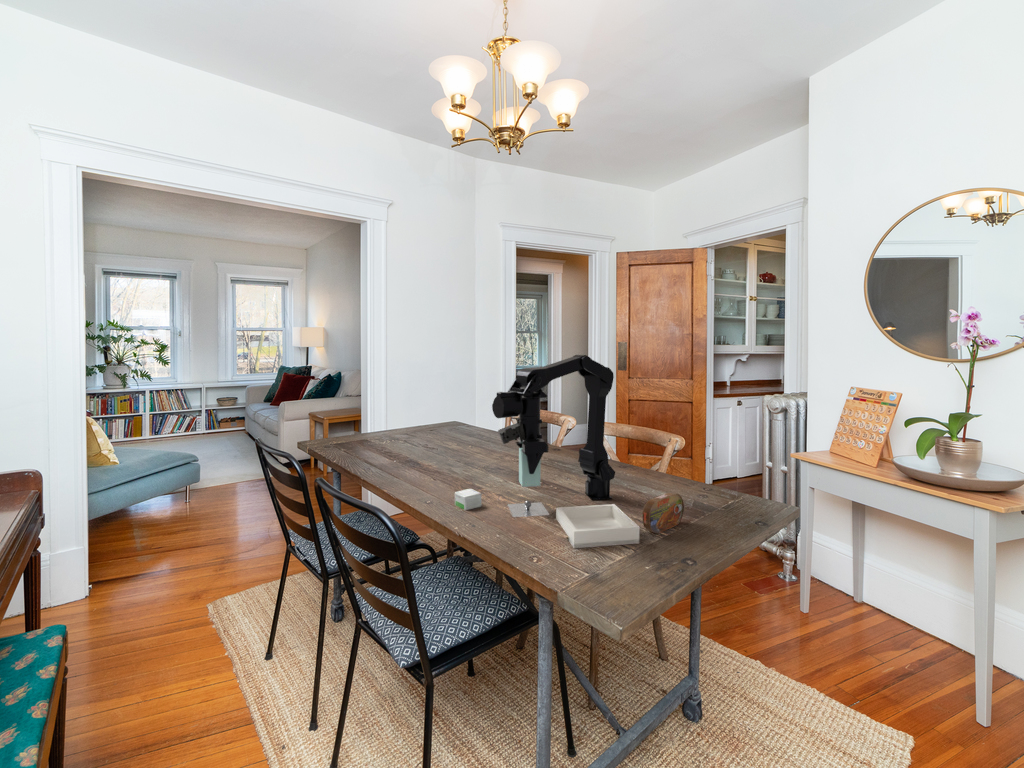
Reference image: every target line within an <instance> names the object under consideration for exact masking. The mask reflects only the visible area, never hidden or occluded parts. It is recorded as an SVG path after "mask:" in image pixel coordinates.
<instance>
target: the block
mask: <svg viewBox="0 0 1024 768" xmlns="http://www.w3.org/2000/svg"><path fill="white" fill-rule="evenodd" d="M521 449H523V448H520V447H518V482H519V484H520V485H521V487H522V488H527V487H528V488H529V487H541V468H542V467H541V459H542V458H541V459H540V461H539V463H538V465H537V468H536V470H535V472H534V474H530V473H529V468H528V462H527V456H526V455H525V454H524V453H523V452H522V450H521Z"/></svg>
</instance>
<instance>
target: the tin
mask: <svg viewBox="0 0 1024 768" xmlns="http://www.w3.org/2000/svg"><path fill="white" fill-rule="evenodd" d="M684 511H685V504H684V500H683V498H682V496H681V495H680V494H678V493H674V492H673V493H672V492H666V493H663V494H661V495H658V496H656V497H653V498H650V499H648V501H646V503H645V504H644V506H643V508H642V525H643V527H644V528H645V529H646V530H647V531H648V532H651V533H654V534H662V533H664V532H666V531H668V530H670V529H673V528H675V527H676V526H678V525H679V524H680V522H681V521H682V519H683V516H684Z"/></svg>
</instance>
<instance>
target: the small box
mask: <svg viewBox="0 0 1024 768" xmlns="http://www.w3.org/2000/svg"><path fill="white" fill-rule="evenodd" d="M454 505H455V507H458V508H460V509H462V510H464V511H467V510H472V509H477V508H480V507H482V493H481V492H479V491H476V490H474V489H472V488H467V489H462V490H459V491H455V492H454Z"/></svg>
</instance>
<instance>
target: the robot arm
mask: <svg viewBox="0 0 1024 768" xmlns="http://www.w3.org/2000/svg"><path fill="white" fill-rule="evenodd" d="M576 372H577V373H578V375H579V376H581V377H583V379H584V387H585V390H586V391H587V393H588V413H587V414H588V415H587V430H586V431H587V434H586V444H585V445H584V446H583V448H579V449H578V460H577V462H578V463H579V467H580V468H581V470H582V473H583V475H585V476H586V480H585V485H584V486H585V491H584V494H585V496H587V497H588V499H590V500H591V501H596V500H597V501H598V500H612V499H613V498H612V496H611V494H610V493H611V491H610V490H611V481H612V480H613V479H615V475H616V471H615V470H614V468H613V467H612V466H611V465H610V464H609V456H608V455H609V454H608V452H607V449H606V447H605V444H604V441H605V438H604V437H605V426H606V425H605V423H606V405H607V397H608V395H609V394H610V392H611V390H612V388H613V383H614V377H615V376H614V372H613V371H612V369H611V368H610V367H607V366H604V365H603V364H601V363H599V362H597V361H596V360H593V359H592V358H591V357H590V356H588V355H586V354H575V355H573V356H571V357H567V358H565V359H562V360H559V361H556V362H553V363H550V364H547V365H544V366H532V367H523V368H520V369H519V370H518V371H517V373H516V375H515V378H514V380H513V382H512V383H511V385H510V386H509V388H508V390H507V391H504V392H503V391H497V392H496V397H494V398H493V401H492V402H493V403H492V405H491V408H492V412H493V415H494V417H495V418H496V419H504V418H506V419H507V418H513V417H515V418H516V417H517V418H516V422H515V423H513V424H510V425H508V426H505V427H503V428H501V429H500V428H499V429H498V430H497V432H498V435H499V437H500V440H501V442H502V443H503V444H504V445H505V444H508V443H510V442H512V441H515V442H514V443H515V444H516V446H517V447H518V448H523V449H521V450H522V452H523V453H524V454H525V455H526V456H527V462H528V468H529V473H530V474H534V472H535V470H536V468H537V465H538V463H539V461H540V459H542V457H543V455H544V454H545V453H549V444H548V443H547V442H546V441H545V440H544V439H543V435H542V434H541V424H543V419H542V418H541V399H545V398H547V397H548V395H547V394H546V393H545V392H544V391H543V390H542V389H543V388H545V387H546V386H548V385H549V384H550V383H551V381H553V380H556V379H559V378H562V377H564V376H568V375H570V374H573V373H576Z"/></svg>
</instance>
